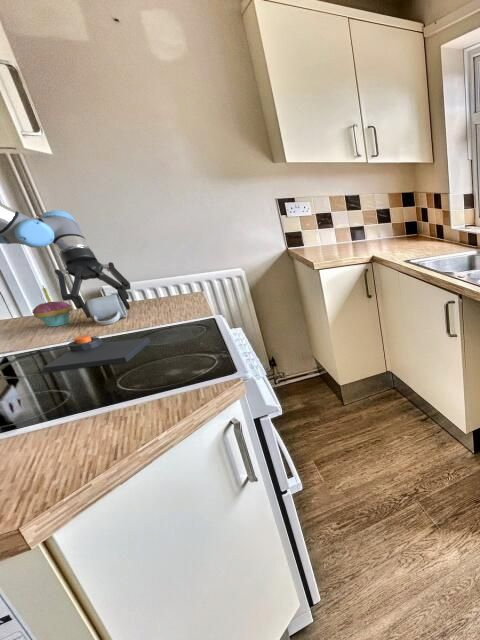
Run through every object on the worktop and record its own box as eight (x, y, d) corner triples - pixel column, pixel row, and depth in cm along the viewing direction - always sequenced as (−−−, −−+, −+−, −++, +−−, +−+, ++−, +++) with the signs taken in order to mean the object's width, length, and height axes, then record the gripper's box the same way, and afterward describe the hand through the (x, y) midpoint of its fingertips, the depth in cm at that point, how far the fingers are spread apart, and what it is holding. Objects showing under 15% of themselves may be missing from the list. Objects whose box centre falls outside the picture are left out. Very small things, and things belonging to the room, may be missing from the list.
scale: (44, 373, 99) (39, 361, 98) (80, 349, 112) (75, 338, 111) (127, 362, 104) (122, 351, 103) (152, 340, 117) (148, 330, 116)
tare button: (73, 345, 108) (71, 339, 107) (80, 341, 111) (78, 335, 110) (88, 343, 109) (86, 338, 108) (94, 339, 111) (92, 334, 111)
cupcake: (41, 324, 132) (23, 286, 127) (78, 317, 137) (62, 281, 132) (38, 331, 126) (19, 292, 121) (77, 323, 131) (60, 286, 126)
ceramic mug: (94, 319, 135) (84, 296, 132) (127, 313, 140) (118, 291, 137) (91, 328, 128) (80, 304, 124) (126, 322, 132) (116, 299, 129)
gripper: (121, 256, 144) (151, 308, 141) (30, 267, 128) (62, 327, 125) (119, 241, 139) (151, 296, 136) (25, 252, 123) (58, 313, 120)
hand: (108, 311), depth 131 cm, fingers closed on ceramic mug, 9 cm apart
